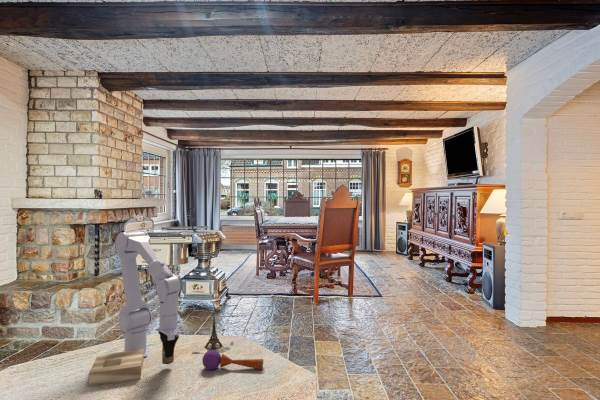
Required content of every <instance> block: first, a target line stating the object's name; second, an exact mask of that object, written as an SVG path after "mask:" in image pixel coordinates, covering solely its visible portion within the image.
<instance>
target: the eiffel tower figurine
mask: <svg viewBox="0 0 600 400" xmlns="http://www.w3.org/2000/svg"><path fill="white" fill-rule="evenodd" d="M229 346H234V341H231V342H230V344H229ZM229 346H224V345H223V344H222V342H221V341H220V339H219V338H218V335H217V331H216V316H215V315H213V317H212V330H211V334H210V338H209V339H208V341H207V343H206V344H205V346H204V347H203V348H204V349H206V350H207V351H210V350H216V351H217V352H219V354H224V353H226V352H229V351H230V350H231V347H230V348H229ZM192 354H193V355H195V354H196V355H198V354H201V355H202V354H204V352H203V353H202V352H199V351H193V352H191V355H192Z"/></svg>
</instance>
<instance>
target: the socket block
mask: <svg viewBox="0 0 600 400" xmlns="http://www.w3.org/2000/svg"><path fill="white" fill-rule="evenodd" d="M143 354H144V349H141V350H133V351H125V352H124V351H119V352H110V353H102V354H97V355H96V358H95V360H94V362H93V364H92V366H91V369H90V370H89V373H88V375H89V378H88V383H89V384H88V387H94V386H101V385H107V384H113V383H120V382H128V381H134V380H139V379H140V380H141V379H142V373H143V372H142V371H143V366H144V357H143Z"/></svg>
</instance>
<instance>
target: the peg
mask: <svg viewBox="0 0 600 400" xmlns="http://www.w3.org/2000/svg"><path fill="white" fill-rule="evenodd" d="M161 348H162V351H161V352H162V354H161V355H162V356H161V363H162V364H163V365H170V364H172V363H174V362H175V351H174V352H173V356H172V357H168V358H166V357H165V353H164V346H163V344H162V347H161Z"/></svg>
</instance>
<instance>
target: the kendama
mask: <svg viewBox="0 0 600 400" xmlns="http://www.w3.org/2000/svg"><path fill="white" fill-rule="evenodd" d="M201 361H202V365H203V367H204V368H205V369H207V370H209V371H212V370H215V369H217V368H218V367H219V368H223V367H226V366H229V365H231V364H232V365H237V366H243V367H246V368H251V369H252V368H253V369H256V370H260V369H261V370H260V371H262V370H263V368H264V358H256V359H255V358H252V359H251V358H249V359H231V358H230V357H229V356H227V355H225V354H224V353H219V352H217V351H216V350H207V351H206V352H204V355H203V356H202V360H201Z"/></svg>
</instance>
